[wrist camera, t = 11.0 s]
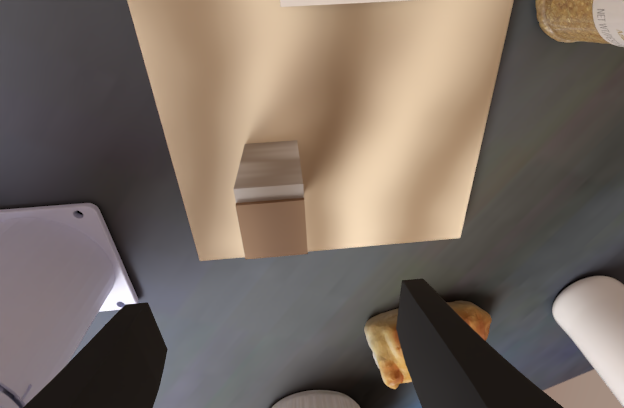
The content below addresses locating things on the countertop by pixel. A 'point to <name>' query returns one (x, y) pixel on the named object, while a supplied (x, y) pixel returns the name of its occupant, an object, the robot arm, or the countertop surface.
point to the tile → (326, 2)
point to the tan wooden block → (271, 200)
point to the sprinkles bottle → (582, 20)
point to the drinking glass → (596, 325)
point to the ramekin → (317, 400)
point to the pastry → (388, 345)
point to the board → (326, 109)
